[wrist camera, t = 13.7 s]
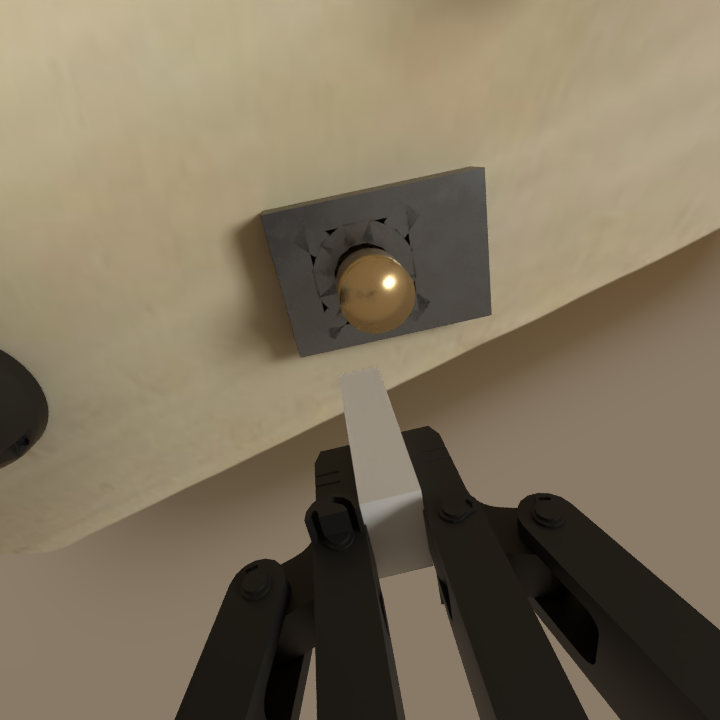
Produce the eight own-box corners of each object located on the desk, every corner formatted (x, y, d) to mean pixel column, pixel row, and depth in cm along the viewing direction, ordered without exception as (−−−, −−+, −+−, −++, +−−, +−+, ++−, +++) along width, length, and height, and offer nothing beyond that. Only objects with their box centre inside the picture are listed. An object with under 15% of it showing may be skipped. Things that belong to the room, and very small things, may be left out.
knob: (338, 299, 44) (348, 340, 34) (325, 242, 41) (332, 269, 31) (393, 287, 44) (419, 324, 34) (384, 229, 41) (410, 252, 31)
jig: (300, 343, 45) (300, 357, 42) (263, 210, 39) (260, 215, 36) (478, 304, 46) (491, 315, 43) (470, 166, 40) (484, 167, 36)
